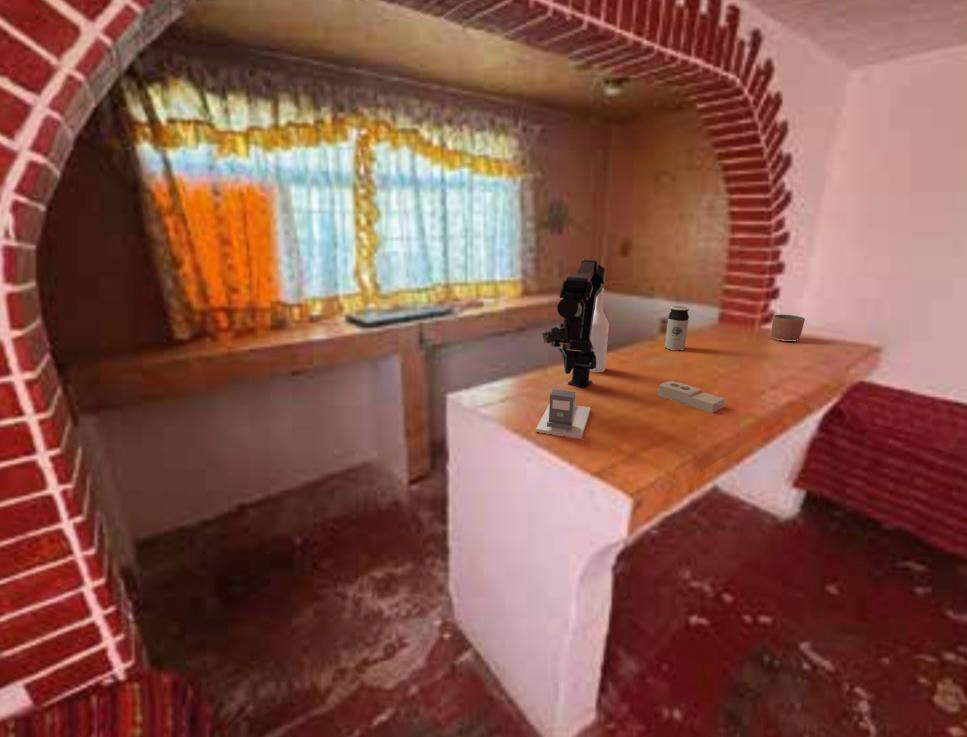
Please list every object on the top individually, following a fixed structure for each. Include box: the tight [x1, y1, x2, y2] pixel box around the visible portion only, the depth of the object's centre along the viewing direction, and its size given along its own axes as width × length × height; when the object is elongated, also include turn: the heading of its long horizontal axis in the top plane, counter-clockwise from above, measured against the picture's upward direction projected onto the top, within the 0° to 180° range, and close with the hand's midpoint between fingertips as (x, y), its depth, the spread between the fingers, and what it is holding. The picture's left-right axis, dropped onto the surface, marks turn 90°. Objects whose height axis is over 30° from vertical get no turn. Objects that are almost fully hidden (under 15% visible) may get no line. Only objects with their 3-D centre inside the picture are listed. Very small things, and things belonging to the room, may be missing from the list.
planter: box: [771, 314, 806, 341], centre depth 224 cm, size 12×12×11 cm
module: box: [549, 389, 577, 425], centre depth 128 cm, size 5×6×8 cm
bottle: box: [590, 288, 610, 374], centre depth 176 cm, size 8×8×30 cm
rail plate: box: [535, 402, 591, 440], centre depth 135 cm, size 20×12×3 cm, turn 162°
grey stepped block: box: [657, 380, 726, 414], centre depth 150 cm, size 7×4×18 cm
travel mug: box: [664, 305, 690, 351], centre depth 207 cm, size 8×8×18 cm
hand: (567, 373), depth 142 cm, fingers closed
